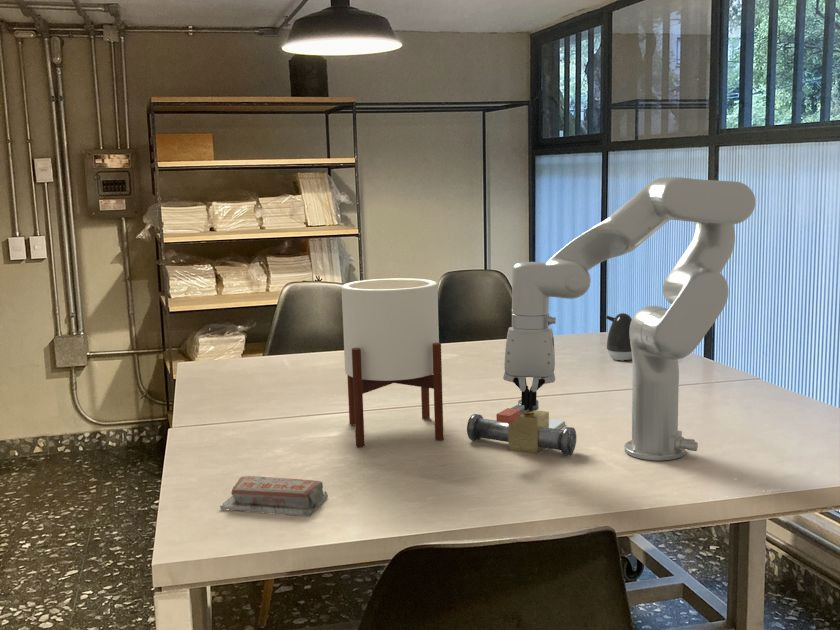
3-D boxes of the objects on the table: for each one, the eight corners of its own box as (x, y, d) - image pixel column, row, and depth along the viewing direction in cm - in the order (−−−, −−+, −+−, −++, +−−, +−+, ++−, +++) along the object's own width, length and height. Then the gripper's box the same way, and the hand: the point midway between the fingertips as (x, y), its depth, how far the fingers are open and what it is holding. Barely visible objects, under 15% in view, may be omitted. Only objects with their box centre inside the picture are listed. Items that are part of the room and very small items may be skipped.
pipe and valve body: (576, 450, 186) (576, 411, 184) (565, 458, 181) (565, 418, 180) (479, 436, 199) (479, 399, 197) (467, 443, 194) (466, 405, 192)
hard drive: (533, 416, 210) (512, 429, 199) (565, 420, 206) (545, 434, 195) (533, 423, 210) (512, 436, 200) (565, 427, 206) (545, 441, 195)
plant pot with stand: (449, 441, 195) (445, 286, 190) (352, 449, 192) (345, 292, 186) (432, 415, 217) (428, 276, 212) (344, 422, 214) (338, 280, 208)
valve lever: (523, 404, 190) (523, 397, 190) (541, 407, 188) (541, 400, 188) (493, 421, 178) (493, 413, 178) (512, 423, 176) (512, 416, 176)
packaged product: (328, 475, 163) (308, 493, 153) (329, 499, 163) (309, 519, 154) (242, 469, 167) (217, 487, 158) (243, 493, 168) (219, 512, 158)
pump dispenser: (604, 356, 282) (604, 310, 279) (637, 356, 280) (637, 310, 278) (607, 362, 272) (607, 315, 269) (640, 362, 270) (641, 315, 268)
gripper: (567, 320, 177) (566, 406, 180) (496, 318, 180) (495, 402, 183) (565, 326, 170) (563, 415, 173) (491, 324, 173) (490, 411, 176)
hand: (528, 408), depth 178 cm, fingers closed
